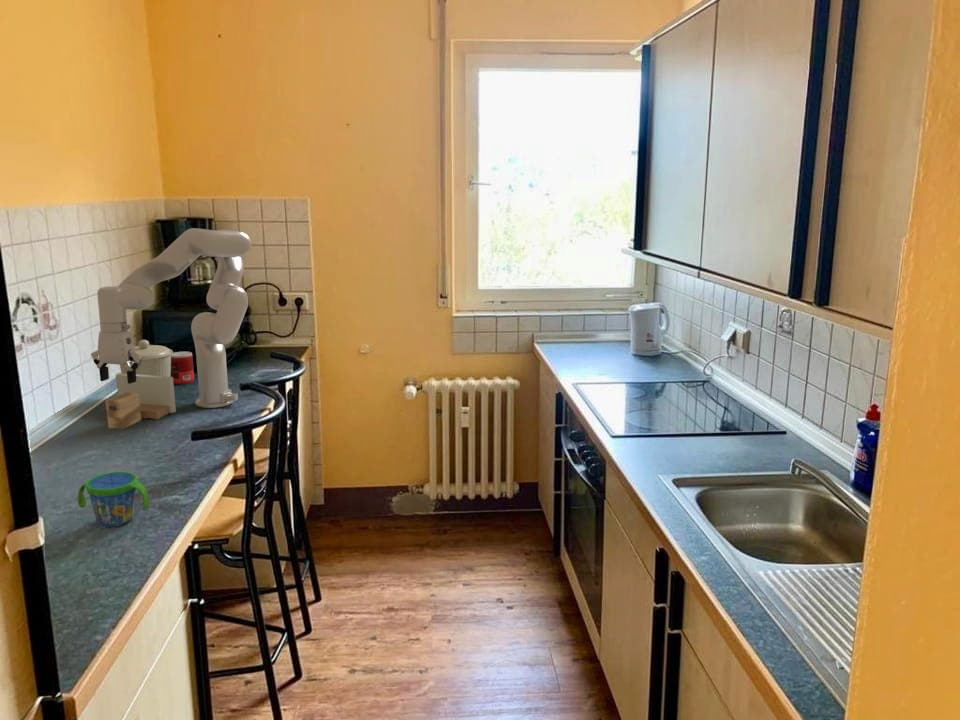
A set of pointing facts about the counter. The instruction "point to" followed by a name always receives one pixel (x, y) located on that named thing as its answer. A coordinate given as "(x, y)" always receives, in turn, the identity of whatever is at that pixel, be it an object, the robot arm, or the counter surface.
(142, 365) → the canister
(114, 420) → the oak box
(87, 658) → the counter surface
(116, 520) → the snack cup
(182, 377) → the canned food
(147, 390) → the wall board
